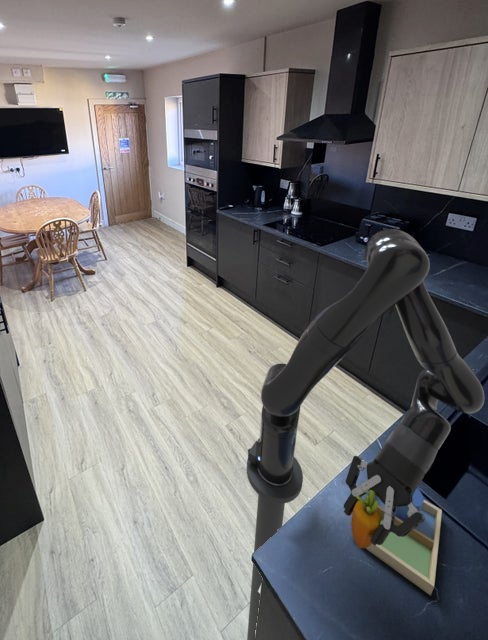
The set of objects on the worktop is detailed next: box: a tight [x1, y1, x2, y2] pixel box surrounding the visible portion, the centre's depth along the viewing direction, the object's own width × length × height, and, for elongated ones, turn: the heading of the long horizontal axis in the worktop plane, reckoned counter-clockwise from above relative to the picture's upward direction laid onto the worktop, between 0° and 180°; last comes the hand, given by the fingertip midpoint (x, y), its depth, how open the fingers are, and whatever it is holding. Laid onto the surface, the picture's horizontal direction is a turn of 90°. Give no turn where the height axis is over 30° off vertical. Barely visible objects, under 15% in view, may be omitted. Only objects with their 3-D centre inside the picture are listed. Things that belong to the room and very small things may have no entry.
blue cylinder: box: [396, 487, 425, 522], centre depth 78 cm, size 6×6×7 cm
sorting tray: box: [364, 495, 443, 596], centre depth 76 cm, size 14×18×3 cm
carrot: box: [350, 490, 382, 549], centre depth 64 cm, size 5×5×15 cm
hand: (359, 527), depth 63 cm, fingers closed on carrot, 5 cm apart
